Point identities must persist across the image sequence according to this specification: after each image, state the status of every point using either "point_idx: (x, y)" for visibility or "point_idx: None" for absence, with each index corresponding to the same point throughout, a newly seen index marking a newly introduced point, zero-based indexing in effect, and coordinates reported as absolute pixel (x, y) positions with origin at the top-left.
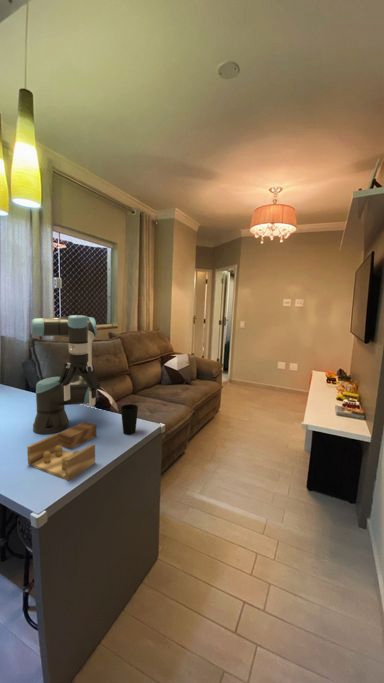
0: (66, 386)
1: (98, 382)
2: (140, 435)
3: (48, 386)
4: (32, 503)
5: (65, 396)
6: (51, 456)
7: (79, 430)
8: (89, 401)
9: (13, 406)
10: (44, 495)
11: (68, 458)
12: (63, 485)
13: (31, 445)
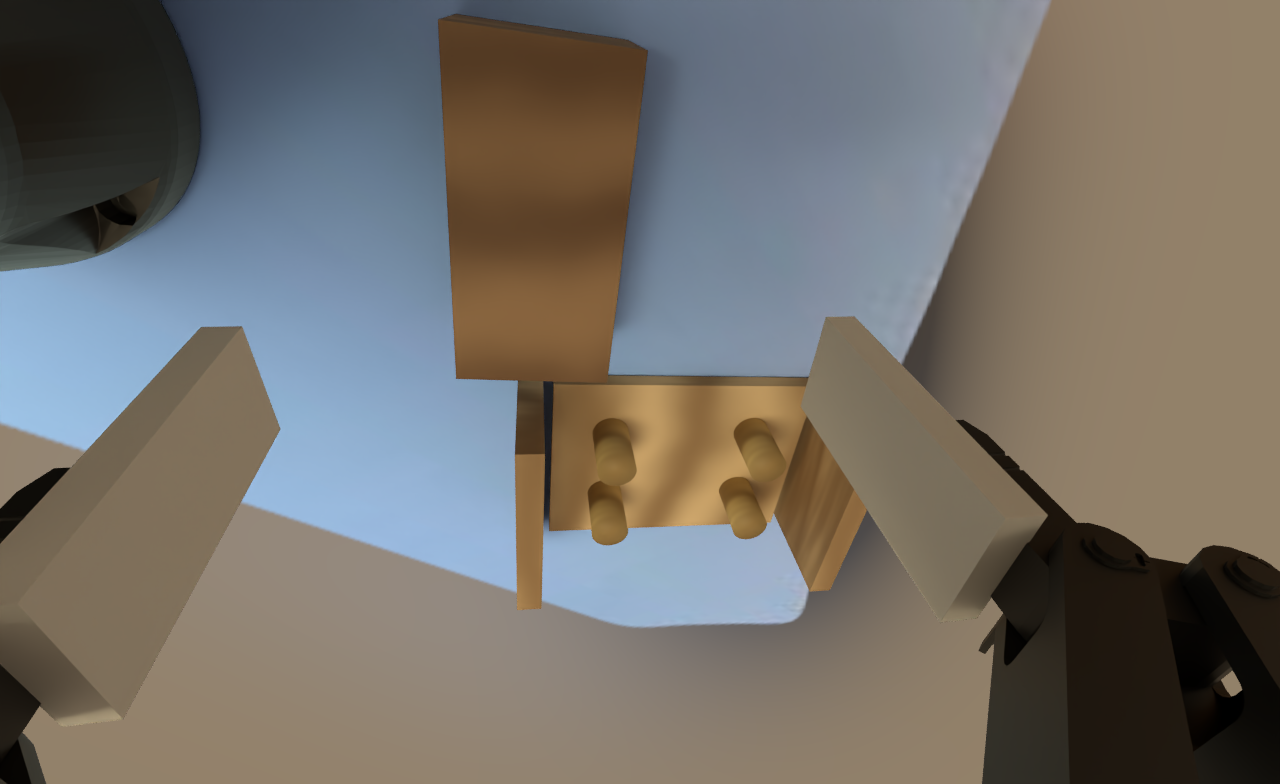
0: (111, 669)
1: None
2: None
3: None
4: (748, 612)
5: (243, 485)
6: (581, 456)
7: (581, 257)
8: (835, 452)
9: None
10: (758, 584)
11: (820, 581)
12: None
13: (527, 597)
